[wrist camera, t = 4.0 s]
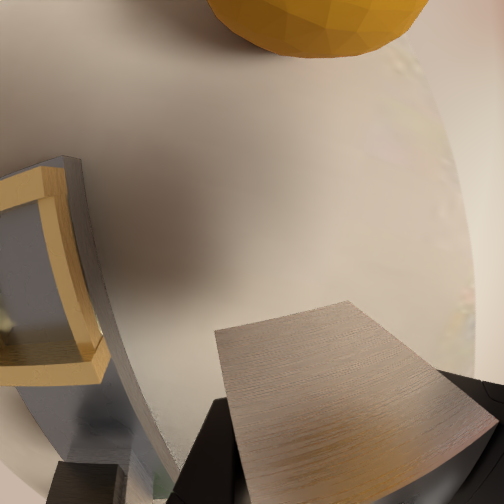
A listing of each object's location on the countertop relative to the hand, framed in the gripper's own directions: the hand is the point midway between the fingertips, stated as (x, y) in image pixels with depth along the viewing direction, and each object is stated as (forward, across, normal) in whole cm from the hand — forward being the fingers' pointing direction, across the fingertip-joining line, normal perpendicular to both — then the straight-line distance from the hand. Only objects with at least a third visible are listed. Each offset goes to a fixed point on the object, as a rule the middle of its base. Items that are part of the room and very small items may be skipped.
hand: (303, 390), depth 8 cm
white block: (+1, 0, 0) cm, 1 cm away
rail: (+7, +10, +2) cm, 12 cm away
